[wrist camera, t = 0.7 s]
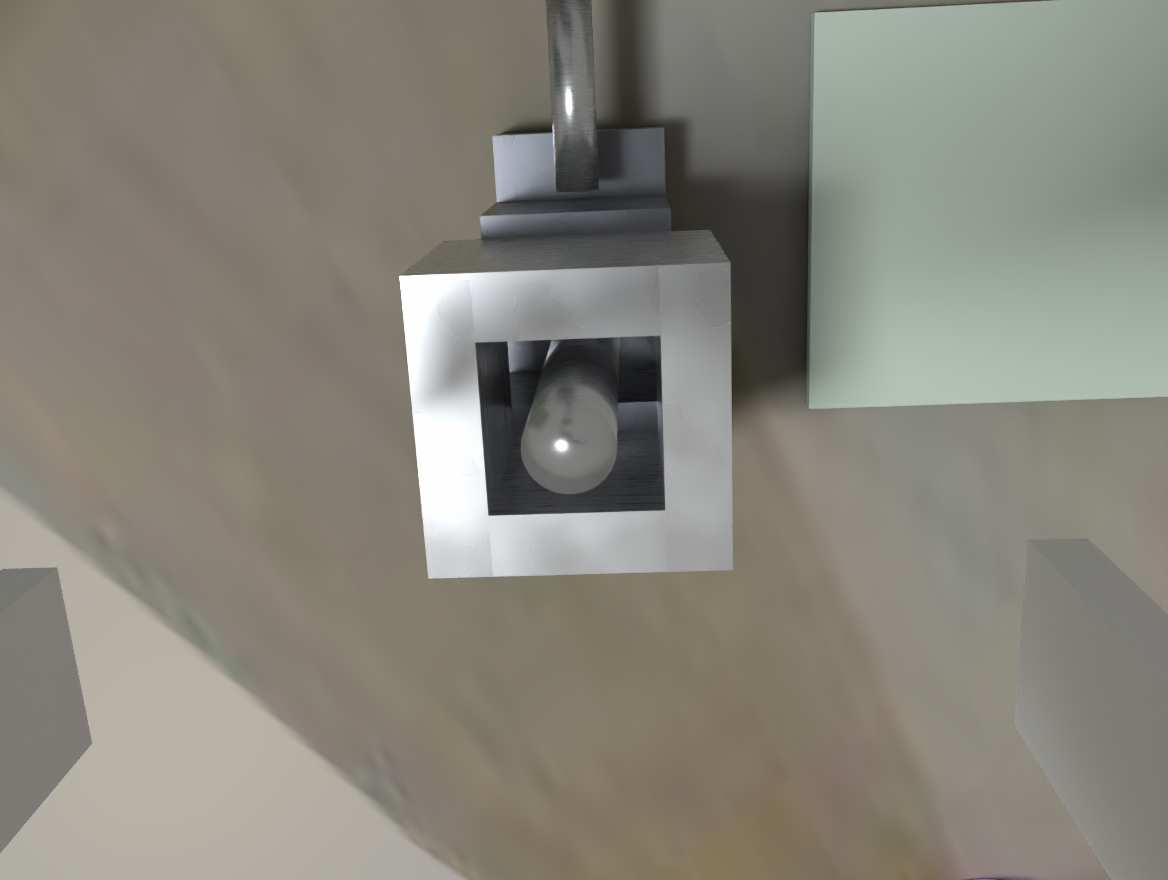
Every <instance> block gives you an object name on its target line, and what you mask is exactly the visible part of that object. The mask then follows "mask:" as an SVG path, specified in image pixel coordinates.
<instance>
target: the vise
mask: <svg viewBox="0 0 1168 880" xmlns="http://www.w3.org/2000/svg"><path fill="white" fill-rule="evenodd" d="M546 10H547V29H548V48H549V67H550V87H551V106H552V125H553V131H550V132H528V133H507V134H498V135H494V136H492V137H493V152H494V166H495V181H496V196H497V203H496V204H494V205H493V206H492V207H491V208H489V209H488V210H487V211H486V212H485V213H483V214H482V215H481V216H480V224H481V238H482V239H501V238H524V237H548V236H572V235H595V234H619V233H642V232H666V231H672V229H671V207H670V204H669V202H668V199H667V197H666V183H665V141H664V127H662V126H656V127H635V128H613V129H597V124H596V100H595V76H594V51H593V27H592V3H591V0H546ZM507 342H508V357H509V372H510V386H511V401H512V416H513V431H514V438H522V439H521V456H522V460H523V463H524V465H525V468H526V469H527V471H528V473H529V474H530V475H531V477H532V478H533V479H534V480H535V481H536V482H537V483H539V484H540V485H541V486H543V487H545V488H546V489H548V490H551V491H553V492H557V493H561V494H578V493H582V492H586V491H588V490H591V489H593V488H595V487H596V486H597V485H599V484H600V483H601V482H602V481H604V480H605V478H606V477H607V476H608V475H609V473H610V472H611V470H612V468H613V466H614V463H615V460H616V455H617V434H642V433H658V416H657V380H656V344H655V336H636V337H610V338H583V339H557V340H530V341H507Z"/></svg>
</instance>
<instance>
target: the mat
mask: <svg viewBox="0 0 1168 880" xmlns="http://www.w3.org/2000/svg"><path fill="white" fill-rule="evenodd" d="M1141 397H1168V0H1051V1H1032V2H1012V3H993V4H973V5H954V6H935V7H915V8H896V9H877V10H857V11H838V12H818V13H813V14H811V79H810V154H809V228H808V302H807V377H806V405H807V406H808V408H809V409H821V408H850V407H880V406H909V405H938V404H967V403H996V402H1025V401H1054V400H1083V399H1112V398H1141Z"/></svg>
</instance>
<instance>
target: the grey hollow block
mask: <svg viewBox="0 0 1168 880" xmlns="http://www.w3.org/2000/svg"><path fill="white" fill-rule="evenodd" d="M400 285H401V295H402V306H403V316H404V327H405V337H406V348H407V358H408V369H409V379H410V390H411V400H412V411H413V421H414V432H415V442H416V453H417V463H418V474H419V484H420V495H421V505H422V516H423V526H424V537H425V547H426V558H427V568H428V578H459V577H495V576H532V575H568V574H605V573H641V572H677V571H714V570H733V531H732V390H731V262H730V261H729V259H728V258H727V256H726V254H725V253H724V251H723V250H722V248H721V246H720V245H719V243H718V242H717V240H716V239H715V237H714V235H713V234H712V232H711V231H710V230H690V231H666V232H642V233H619V234H595V235H572V236H548V237H524V238H501V239H477V240H453V241H443V242H442V243H441V244H439V245H438V246H437V247H436V248H434V249H433V250H432V251H431V252H429V253H428V254H427V255H426V256H424V257H423V258H422V259H421V260H419V261H418V262H417V263H415V264H414V265H413V266H412V267H410V268H409V269H408V270H407V271H405V272H404V273H403V274H402V275H400ZM636 336H655V344H656V380H657V416H658V433H642V434H617V455H616V460H615V463H614V466H613V468H612V470H611V472H610V473H609V475H608V476H607V477H606V478H605V480H604V481H602V482H601V483H600V484H599V485H597V486H596V487H595V488H593V489H591V490H588V491H586V492H582V493H578V494H561V493H557V492H553V491H551V490H548V489H546V488H545V487H543V486H541V485H540V484H539V483H537V482H536V481H535V480H534V479H533V478H532V477H531V475H530V474H529V473H528V471H527V469H526V468H525V465H524V463H523V460H522V456H521V439H522V438H514V431H513V416H512V401H511V386H510V372H509V357H508V342H507V341H530V340H557V339H583V338H610V337H636Z"/></svg>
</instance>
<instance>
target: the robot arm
mask: <svg viewBox="0 0 1168 880" xmlns="http://www.w3.org/2000/svg"><path fill="white" fill-rule="evenodd" d="M1014 725H1015V727H1016V728H1017V730H1018V732H1019V733H1020V735H1021V737H1022V738H1023V740H1024V741H1025V743H1026V745H1027V746H1028V748H1029V749H1030V751H1031V753H1032V754H1033V756H1034V757H1035V759H1036V761H1037V762H1038V764H1039V765H1040V767H1041V769H1042V770H1043V772H1044V773H1045V775H1046V777H1047V778H1048V780H1049V781H1050V783H1051V785H1052V786H1053V788H1054V789H1055V791H1056V793H1057V794H1058V796H1059V797H1060V799H1061V801H1062V802H1063V804H1064V805H1065V807H1066V809H1067V810H1068V812H1069V813H1070V815H1071V817H1072V818H1073V820H1074V821H1075V823H1076V825H1077V826H1078V828H1079V830H1080V831H1081V833H1082V834H1083V836H1084V838H1085V839H1086V841H1087V842H1088V844H1089V846H1090V847H1091V849H1092V850H1093V852H1094V854H1095V855H1096V857H1097V858H1098V860H1099V862H1100V863H1101V865H1102V866H1103V868H1104V870H1105V871H1106V873H1107V874H1108V876H1109V878H1110V879H1111V880H1168V614H1167V613H1166V612H1165V611H1163V610H1162V609H1161V608H1160V607H1159V606H1158V605H1157V604H1156V603H1155V602H1154V601H1153V600H1152V599H1151V598H1150V597H1149V596H1148V595H1147V594H1145V593H1144V592H1143V591H1142V590H1141V589H1140V588H1139V587H1138V586H1137V585H1136V584H1135V583H1134V582H1133V581H1132V580H1131V579H1130V578H1129V577H1128V576H1126V575H1125V574H1124V573H1123V572H1122V571H1121V570H1120V569H1119V568H1118V567H1117V566H1116V565H1115V564H1114V563H1113V562H1112V561H1111V560H1110V559H1108V558H1107V557H1106V556H1105V555H1104V554H1103V553H1102V552H1101V551H1100V550H1099V549H1098V548H1097V547H1096V546H1095V545H1094V544H1093V543H1092V542H1090V541H1089V540H1088V539H1087V538H1085V539H1050V540H1028V546H1027V559H1026V573H1025V586H1024V599H1023V612H1022V626H1021V639H1020V652H1019V665H1018V679H1017V692H1016V705H1015V718H1014ZM91 744H92V741H91V736H90V731H89V726H88V721H87V715H86V710H85V705H84V700H83V695H82V691H81V685H80V680H79V675H78V670H77V665H76V660H75V655H74V650H73V645H72V640H71V635H70V630H69V625H68V620H67V615H66V610H65V605H64V600H63V595H62V590H61V585H60V580H59V574H58V569H57V568H23V569H2V570H1V571H0V853H1V852H2V850H3V849H4V848H5V847H6V846H7V844H8V843H9V842H10V841H11V840H12V838H13V837H14V836H15V835H16V834H17V832H18V831H19V830H20V829H21V828H22V827H23V825H24V824H25V823H26V822H27V820H28V819H29V818H30V817H31V816H32V814H33V813H34V812H35V811H36V810H37V808H38V807H39V806H40V805H41V804H42V803H43V801H44V800H45V799H46V798H47V797H48V795H49V794H50V793H51V792H52V791H53V789H54V788H55V787H56V786H57V785H58V783H59V782H60V781H61V780H62V779H63V777H64V776H65V775H66V774H67V773H68V771H69V770H70V769H71V768H72V767H73V765H74V764H75V763H76V762H77V761H78V759H79V758H80V757H81V756H82V755H83V753H84V752H85V751H86V750H87V749H88V747H89V746H90V745H91Z"/></svg>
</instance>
